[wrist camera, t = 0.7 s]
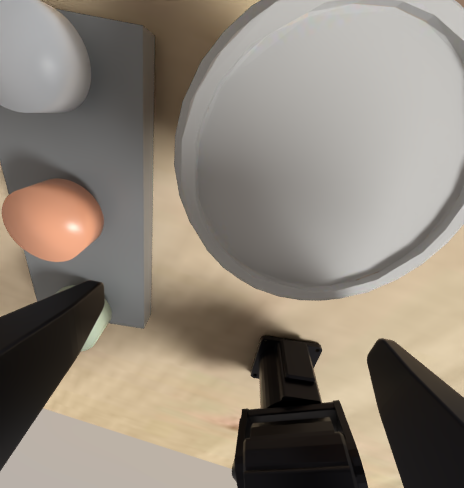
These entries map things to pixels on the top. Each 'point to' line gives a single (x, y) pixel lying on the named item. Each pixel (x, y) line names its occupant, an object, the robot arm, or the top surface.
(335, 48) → the disposable coffee cup
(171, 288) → the top surface
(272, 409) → the robot arm
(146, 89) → the panel
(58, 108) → the button bluegrey
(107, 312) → the button sage
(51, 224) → the button terracotta
